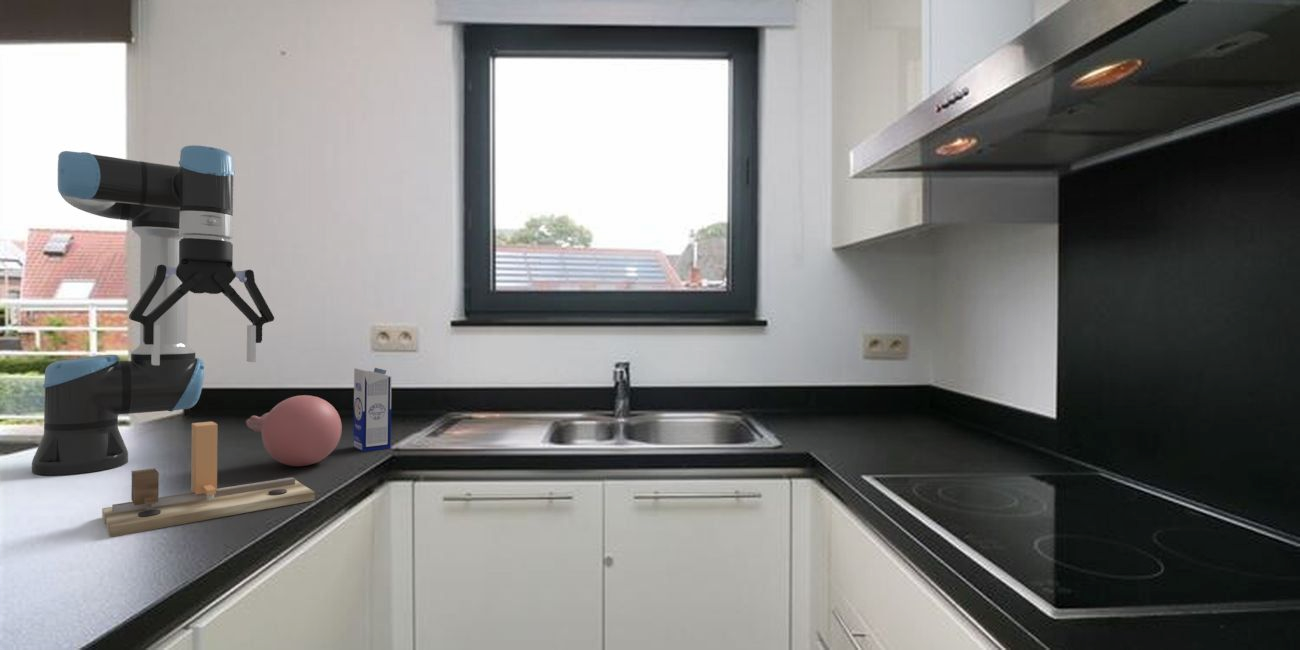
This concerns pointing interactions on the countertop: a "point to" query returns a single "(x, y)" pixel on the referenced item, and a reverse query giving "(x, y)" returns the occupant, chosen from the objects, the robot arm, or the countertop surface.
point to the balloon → (299, 430)
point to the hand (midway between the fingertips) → (205, 363)
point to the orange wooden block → (204, 458)
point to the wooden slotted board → (195, 503)
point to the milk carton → (372, 410)
